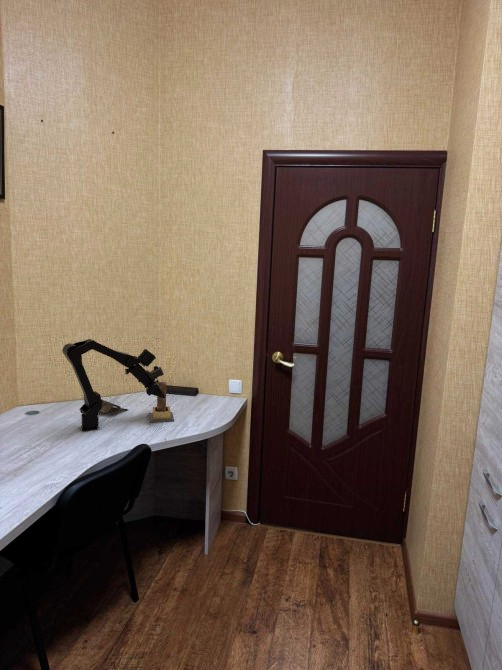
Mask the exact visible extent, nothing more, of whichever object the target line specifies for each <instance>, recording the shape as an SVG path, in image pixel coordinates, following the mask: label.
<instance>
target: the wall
mask: <svg viewBox="0 0 502 670" xmlns="http://www.w3.org/2000/svg"><path fill="white" fill-rule="evenodd" d="M101 400H102V401H103V402H102V405H103V407H102V409H101V410H100V411H99V412H101V413H104V414H108V413H109V411H110V410H111V409H112V408H113V407H115V408H117V409H121V406H120V405H118V404H115V403H112V402H111V401H107V400H104V399H102V398H101Z"/></svg>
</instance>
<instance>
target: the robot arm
mask: <svg viewBox="0 0 502 670" xmlns="http://www.w3.org/2000/svg"><path fill="white" fill-rule="evenodd" d="M61 350H62V354H63V355H64V357H65V358H66V360H67V362H69V363H70V365H71V366H72V370H73V372H74V374H75V377H76V378H77V381H78V383H79V385H80V388H81V391H82V392H83V393H82V394H83V402H84V403H83V404H82V406H81V407H80V408H79V411H80V413H81V415H80V417H81V425H80V427H81V431H82V432H86V431H87V432H88V431H96V430H99V426H100V425H99V424H100V423H99V420H100V419H99V413H100V412H101V411H100V410H101V409H102V407H103V405H102V402H103V401H102V400H103V399H102V396H101V394H100V393H99V392H98V391H96V390H95V391H94V389H93V386H92V384H91V382H90V379H89V376H88V374H87V372H86V369H85V367H84V365H83V356H82V355H84V354H86V353H89V352H90V351H92V350H93V351H95V352H97V353H100V354H102V355H105V356H107V357H109V358H110V359H113V360H114V361H116V362H117V363H119V365H122V366H123V367H125V368H124V374H125V375H129V374H131V375H132V376H133V377H134V378H135V380H137V382H138V383H140V384H142V385H143V386H144V389H145V393H146V395H148V396H149V397H150V396H151V395H152V396H155V397H157V396H158V397H161V398H165V395H164V394H163V393H162V391H161V390H160V389H159V384H158V383H157V382H160V381H159V379H158V378H159V377H162V376H164V375H165V374H164V371H163V369H162V367H161V366H158V365H155V366H153V369H151V371H149V370H147V369H145V367H149V366H150V365H151V364H152V363H154V361H155V360H156V359H157V357H156V355H155V354H153V353H152V352H151V351H149V350H148V349H147V348H144V349H143V350H142V352H140V354H138V356H135V355H132V354H129V353H127V352H123V351H117V350H115V349H113V348H110V347H109V346H106V345H104V344H101V343H99V342H97V341H96V340H94V339H92V338H88V339H86V340H81V341H77V342H74V343H66V344H65V345H63V347H62V349H61ZM101 399H102V400H101Z"/></svg>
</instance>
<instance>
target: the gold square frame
mask: <svg viewBox="0 0 502 670" xmlns="http://www.w3.org/2000/svg"><path fill="white" fill-rule="evenodd" d="M170 422H173V423H174V422H175V417H174V413H173V411H171V405H169V406H168V405H166V411H157V406H152V412H149V423H170Z"/></svg>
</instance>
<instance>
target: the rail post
mask: <svg viewBox="0 0 502 670" xmlns="http://www.w3.org/2000/svg"><path fill="white" fill-rule="evenodd" d="M157 383H158V384H159V389H160V390H161V391H162V393H163V394H164V395H165V398H161V397H158V396H156V407H157V411H166V406H167V382H166V381H161V382H160V381H159V382H157Z"/></svg>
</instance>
